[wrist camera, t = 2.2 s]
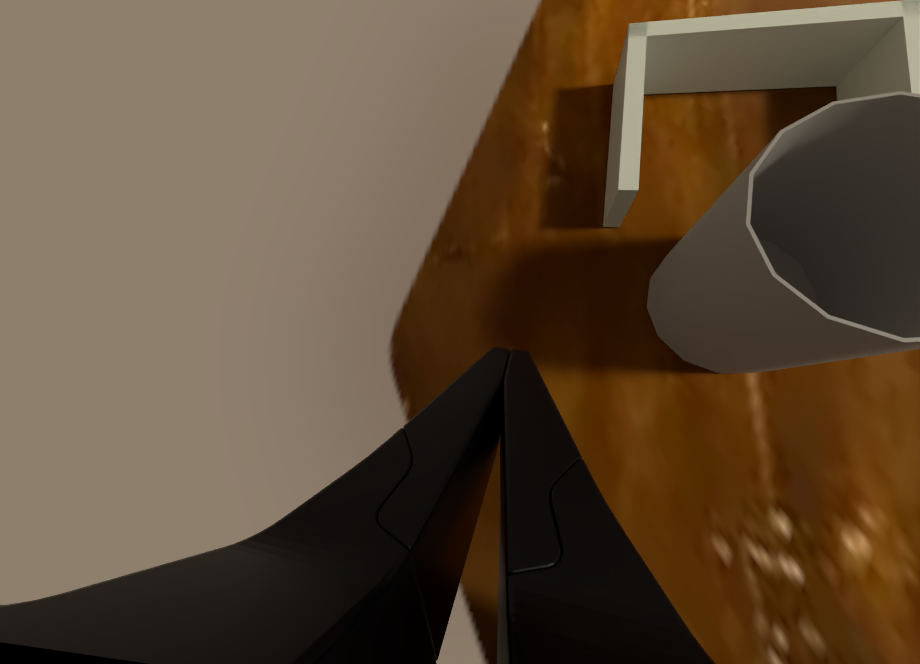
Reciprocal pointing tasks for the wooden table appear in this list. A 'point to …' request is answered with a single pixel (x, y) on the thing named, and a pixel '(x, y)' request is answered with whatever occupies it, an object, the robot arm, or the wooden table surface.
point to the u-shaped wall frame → (756, 66)
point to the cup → (805, 248)
